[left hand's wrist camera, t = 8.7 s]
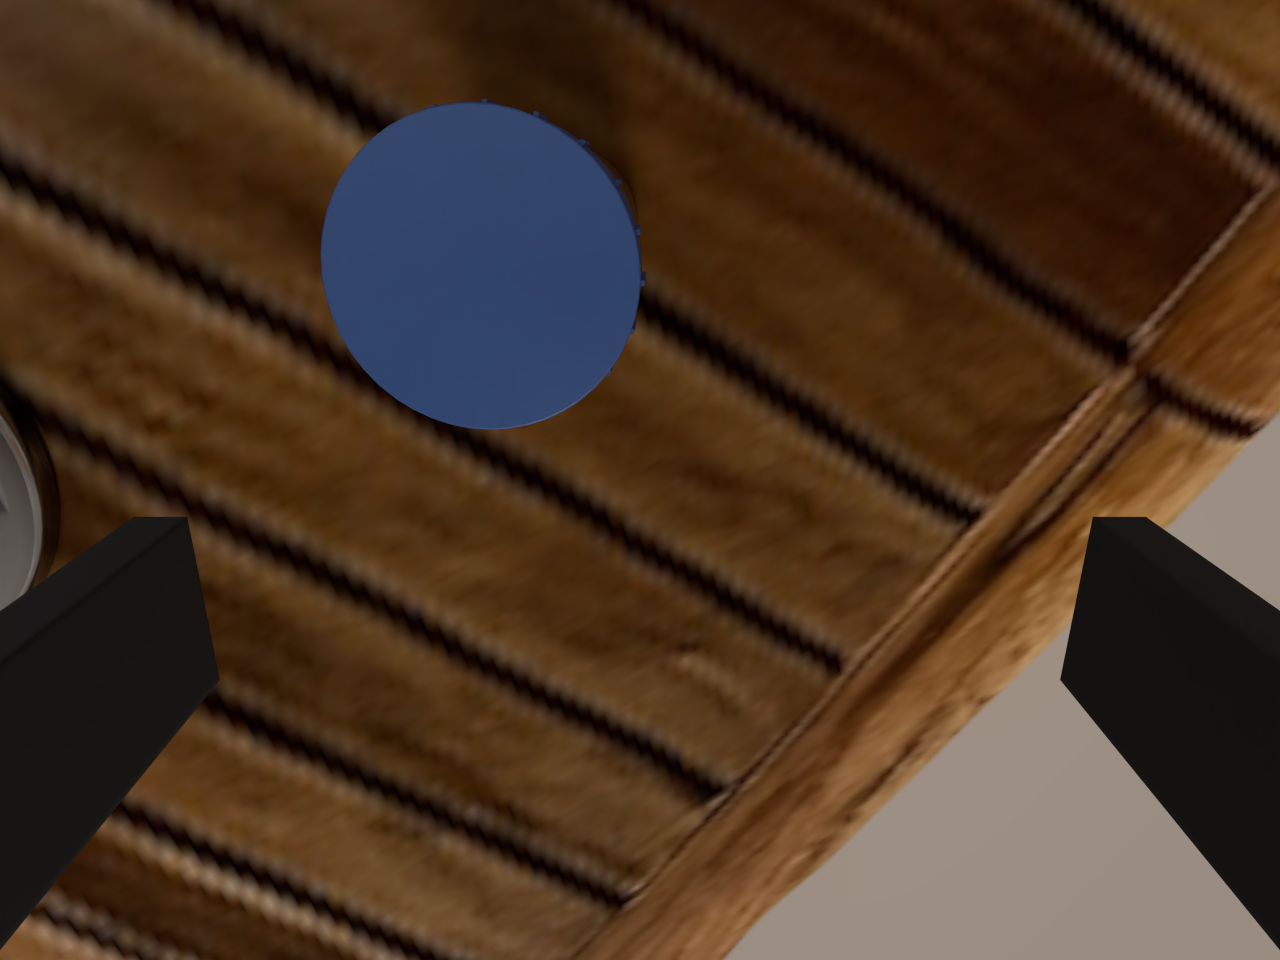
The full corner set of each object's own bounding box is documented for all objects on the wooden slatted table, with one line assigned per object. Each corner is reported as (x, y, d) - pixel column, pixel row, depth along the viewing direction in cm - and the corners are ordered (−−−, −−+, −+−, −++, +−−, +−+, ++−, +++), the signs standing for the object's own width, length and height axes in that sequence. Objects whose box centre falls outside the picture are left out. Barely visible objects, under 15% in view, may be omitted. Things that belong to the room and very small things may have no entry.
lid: (307, 316, 19) (268, 333, 17) (430, 43, 17) (400, 27, 15) (557, 454, 20) (546, 485, 18) (699, 210, 18) (704, 215, 16)
